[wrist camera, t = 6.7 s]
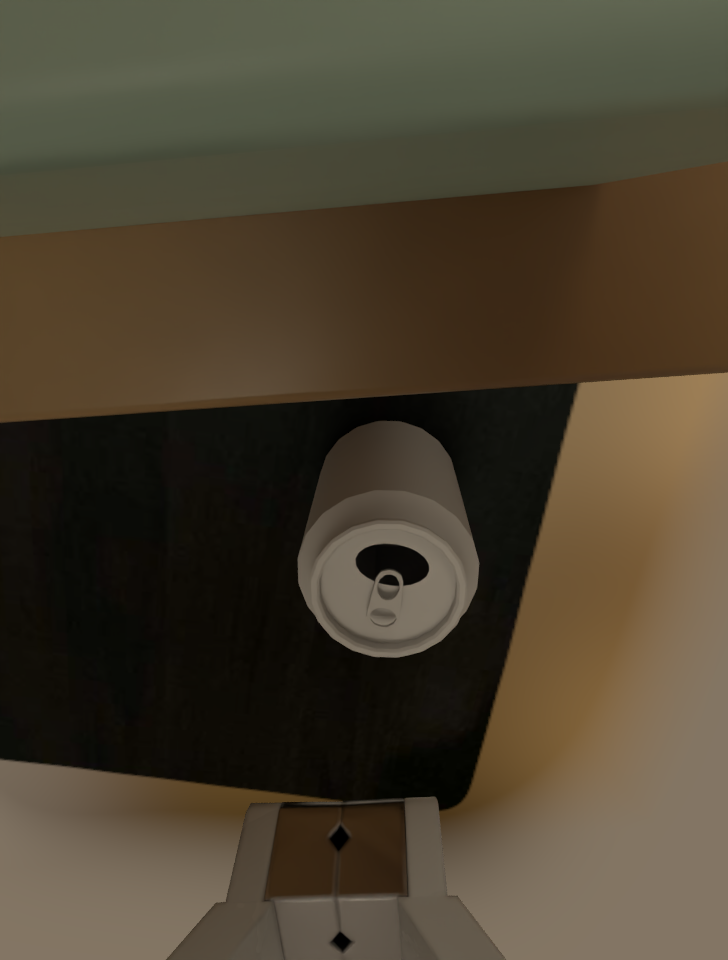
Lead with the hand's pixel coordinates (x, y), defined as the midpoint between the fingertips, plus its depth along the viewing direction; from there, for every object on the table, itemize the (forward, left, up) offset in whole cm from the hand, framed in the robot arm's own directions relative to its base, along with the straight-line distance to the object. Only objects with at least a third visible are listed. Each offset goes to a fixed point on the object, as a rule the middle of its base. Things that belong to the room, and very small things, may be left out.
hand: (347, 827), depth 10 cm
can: (0, +4, -26) cm, 27 cm away
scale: (+5, -16, +4) cm, 17 cm away
